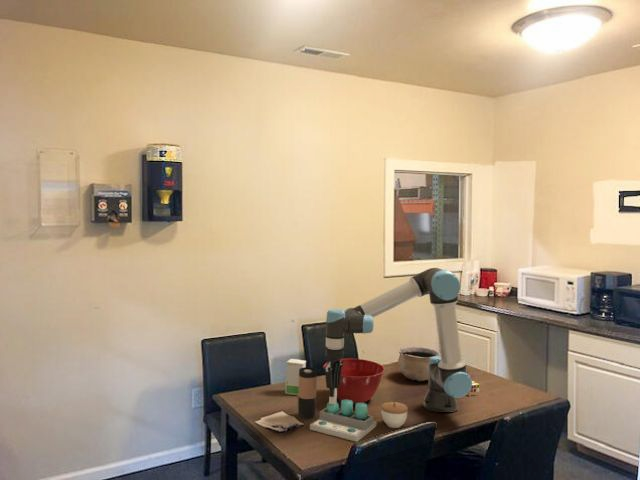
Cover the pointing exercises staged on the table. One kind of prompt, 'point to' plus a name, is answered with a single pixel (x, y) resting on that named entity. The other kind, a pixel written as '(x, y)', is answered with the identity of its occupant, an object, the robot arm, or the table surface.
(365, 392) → the mixing bowl
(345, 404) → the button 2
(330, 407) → the button
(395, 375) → the table surface
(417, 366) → the ceramic bowl
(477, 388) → the rubik's cube
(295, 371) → the skincare box
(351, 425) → the button panel
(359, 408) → the button
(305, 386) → the travel mug
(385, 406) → the lidded jar
